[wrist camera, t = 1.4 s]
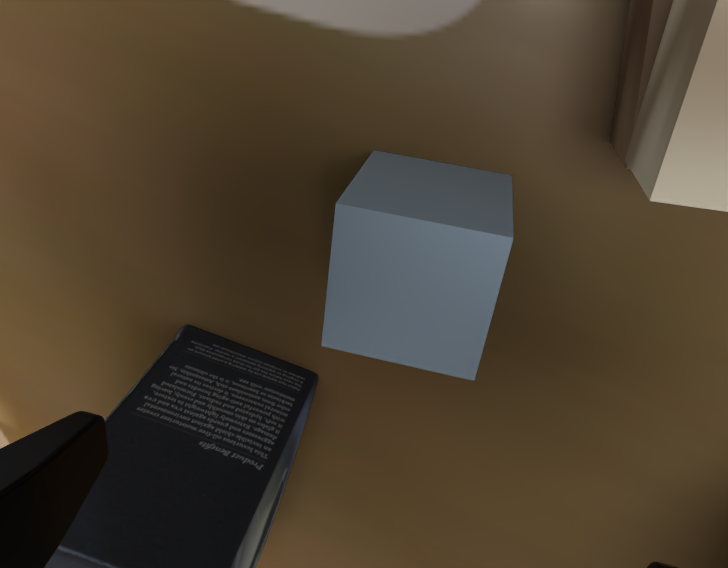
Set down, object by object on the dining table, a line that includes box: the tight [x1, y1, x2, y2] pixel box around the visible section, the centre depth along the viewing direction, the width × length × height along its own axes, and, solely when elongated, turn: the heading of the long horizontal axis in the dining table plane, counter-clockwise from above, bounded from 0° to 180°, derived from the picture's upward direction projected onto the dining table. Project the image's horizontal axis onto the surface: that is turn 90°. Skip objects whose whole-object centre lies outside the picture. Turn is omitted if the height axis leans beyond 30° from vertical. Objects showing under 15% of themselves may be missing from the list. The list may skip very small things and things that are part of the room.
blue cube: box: [321, 150, 514, 381], centre depth 18 cm, size 4×4×5 cm
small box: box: [44, 326, 318, 568], centre depth 22 cm, size 11×6×10 cm, turn 163°
